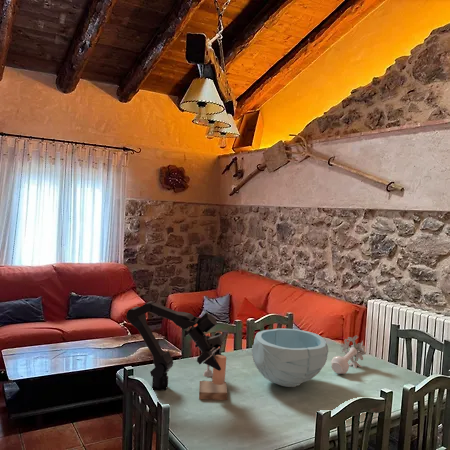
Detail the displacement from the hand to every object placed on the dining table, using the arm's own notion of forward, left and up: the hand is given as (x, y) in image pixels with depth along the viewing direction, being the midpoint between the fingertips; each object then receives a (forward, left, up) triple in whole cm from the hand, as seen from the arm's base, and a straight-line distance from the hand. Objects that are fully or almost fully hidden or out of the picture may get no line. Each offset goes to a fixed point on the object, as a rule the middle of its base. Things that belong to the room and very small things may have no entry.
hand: (222, 367), depth 186 cm
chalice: (-6, +26, -14) cm, 30 cm away
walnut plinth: (-4, +5, -13) cm, 15 cm away
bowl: (+32, +18, -14) cm, 39 cm away
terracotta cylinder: (-1, 0, -7) cm, 7 cm away
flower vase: (+68, +39, -14) cm, 80 cm away
